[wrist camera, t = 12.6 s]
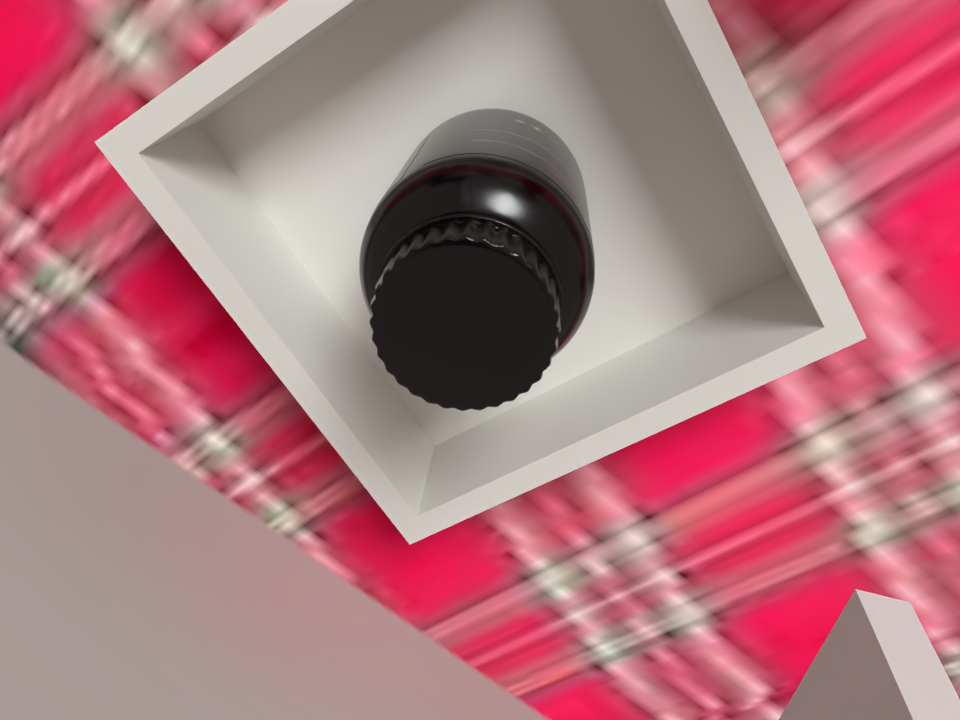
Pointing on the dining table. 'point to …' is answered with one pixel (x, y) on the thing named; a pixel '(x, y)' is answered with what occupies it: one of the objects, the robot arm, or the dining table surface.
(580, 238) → the supplement bottle
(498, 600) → the dining table surface
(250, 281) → the bin
